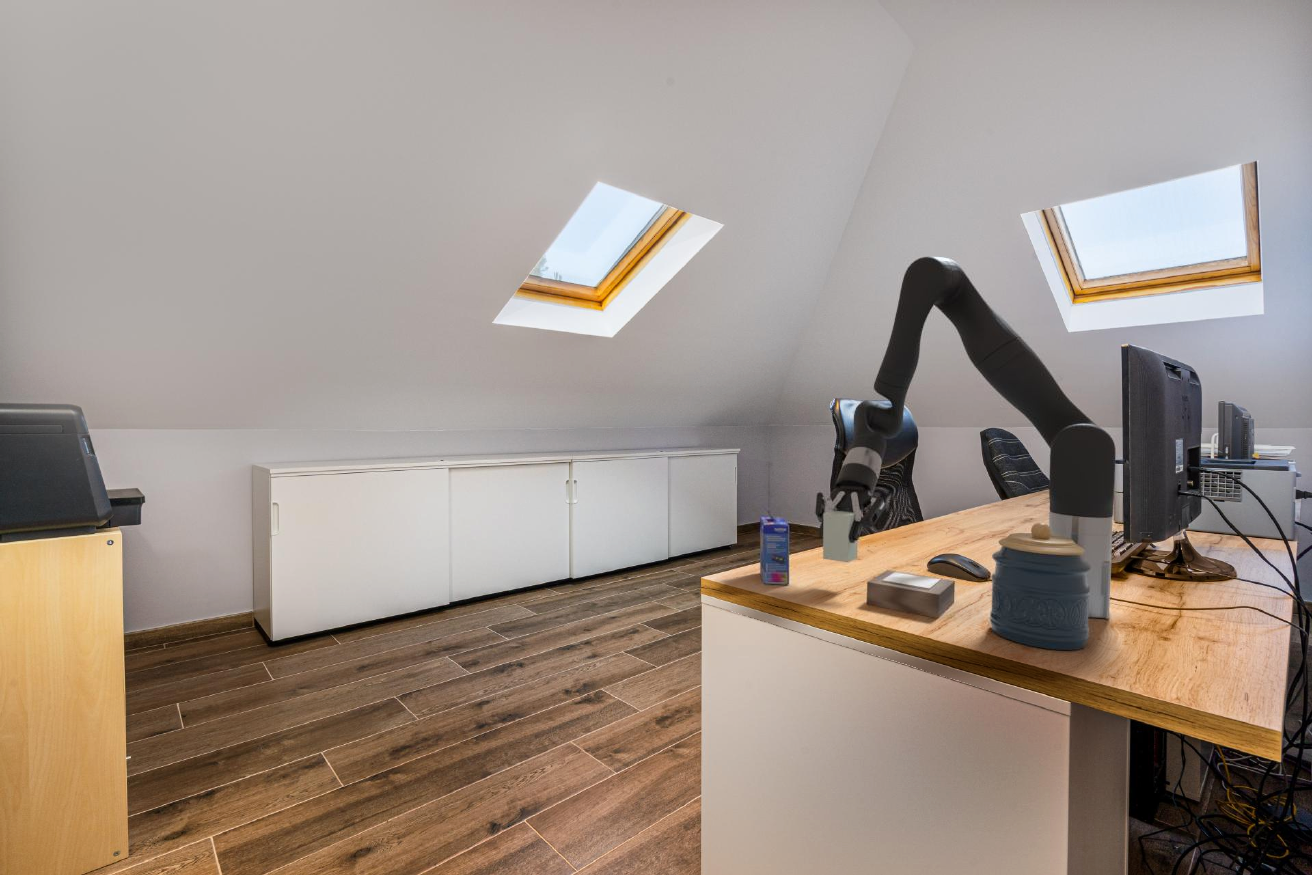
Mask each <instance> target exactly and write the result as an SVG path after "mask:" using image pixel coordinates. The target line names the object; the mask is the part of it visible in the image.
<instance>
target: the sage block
mask: <svg viewBox="0 0 1312 875" xmlns="http://www.w3.org/2000/svg"><path fill="white" fill-rule="evenodd" d="M825 512H826V511H825ZM855 514H856V513H854V512H844V511H830V512H826V513H824V521H823V539H822V541H823V542H822V543H823V544H822V546H823V547H822V548H823V550H822V559H823V560H828V561H836V562H842V563H850V562H852V561H854V560H856V559H858V542H859V541H858V540H859V539H858V540H857V541H855V543H850V540H849V537H848V536H849V533H850V530H851V527H852V524H853V522H855Z"/></svg>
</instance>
